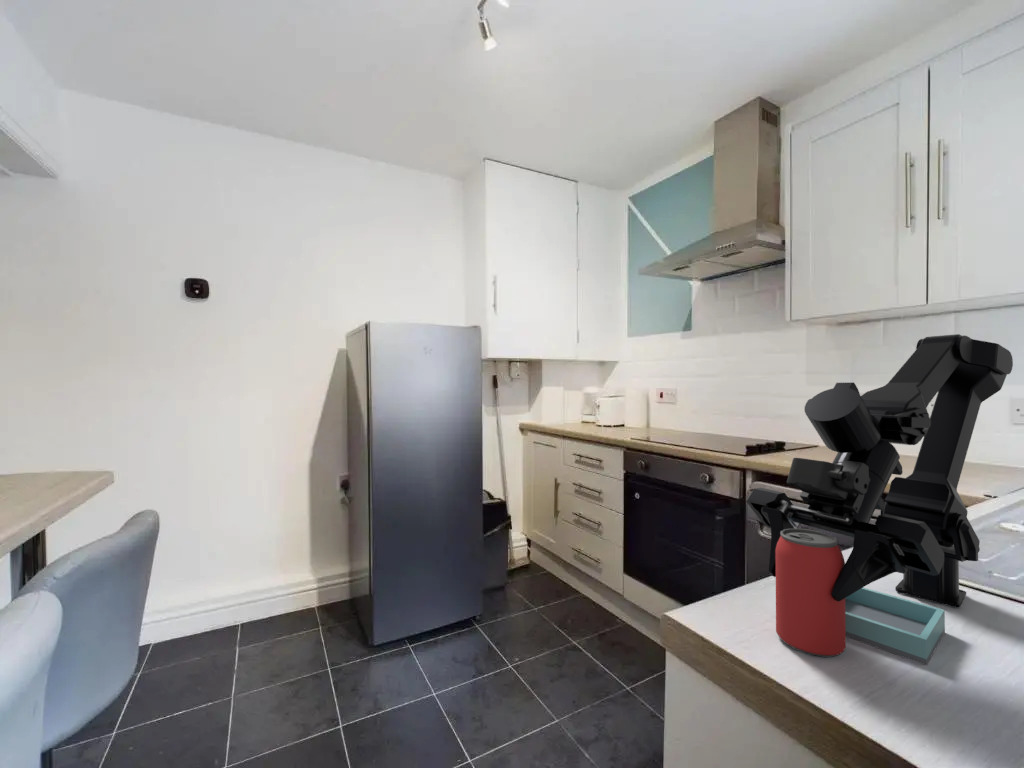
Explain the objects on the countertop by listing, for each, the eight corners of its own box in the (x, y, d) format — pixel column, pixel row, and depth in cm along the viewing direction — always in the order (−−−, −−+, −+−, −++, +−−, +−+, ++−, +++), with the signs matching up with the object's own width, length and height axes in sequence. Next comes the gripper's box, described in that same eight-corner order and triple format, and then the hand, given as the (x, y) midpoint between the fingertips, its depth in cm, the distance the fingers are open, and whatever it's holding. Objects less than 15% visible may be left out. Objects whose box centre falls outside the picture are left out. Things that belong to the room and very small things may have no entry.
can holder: (841, 600, 61) (841, 581, 61) (944, 632, 53) (944, 610, 53) (813, 625, 55) (813, 603, 55) (926, 665, 47) (926, 639, 47)
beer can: (780, 621, 56) (780, 523, 56) (847, 640, 51) (846, 534, 52) (770, 644, 51) (770, 537, 51) (843, 668, 46) (842, 550, 46)
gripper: (755, 427, 61) (696, 519, 56) (929, 441, 45) (868, 574, 40) (791, 480, 65) (739, 571, 60) (967, 512, 48) (915, 642, 43)
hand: (801, 585), depth 50 cm, fingers closed on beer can, 6 cm apart
